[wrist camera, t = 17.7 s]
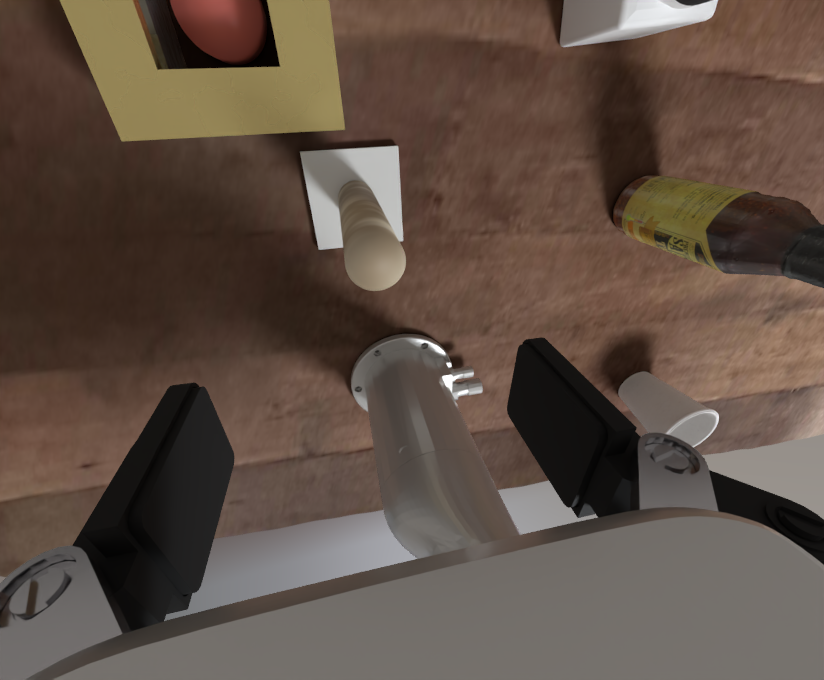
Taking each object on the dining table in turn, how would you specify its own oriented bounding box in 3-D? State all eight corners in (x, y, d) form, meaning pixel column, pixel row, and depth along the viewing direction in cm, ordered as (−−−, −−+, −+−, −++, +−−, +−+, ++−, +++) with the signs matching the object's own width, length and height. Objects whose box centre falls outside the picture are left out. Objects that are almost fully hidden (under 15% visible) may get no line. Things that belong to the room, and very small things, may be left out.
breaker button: (255, -38, 21) (248, -53, 20) (275, 64, 24) (271, 59, 22) (168, -40, 21) (152, -57, 19) (199, 65, 23) (188, 61, 21)
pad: (396, 145, 29) (398, 146, 29) (402, 239, 33) (403, 240, 33) (300, 151, 28) (299, 152, 27) (318, 247, 32) (318, 249, 32)
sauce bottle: (598, 226, 37) (811, 309, 21) (632, 164, 34) (909, 206, 18) (640, 240, 40) (863, 325, 23) (676, 183, 37) (958, 236, 20)
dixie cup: (600, 397, 54) (649, 448, 46) (640, 357, 51) (701, 403, 42) (630, 410, 57) (681, 459, 49) (669, 373, 54) (730, 419, 46)
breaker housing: (307, -129, 20) (301, -221, 15) (340, 127, 28) (345, 129, 22) (59, -145, 18) (-54, -258, 13) (165, 136, 25) (121, 141, 20)
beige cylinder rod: (372, 178, 29) (404, 229, 17) (376, 217, 31) (407, 287, 19) (335, 181, 29) (340, 235, 17) (341, 220, 31) (349, 294, 19)
